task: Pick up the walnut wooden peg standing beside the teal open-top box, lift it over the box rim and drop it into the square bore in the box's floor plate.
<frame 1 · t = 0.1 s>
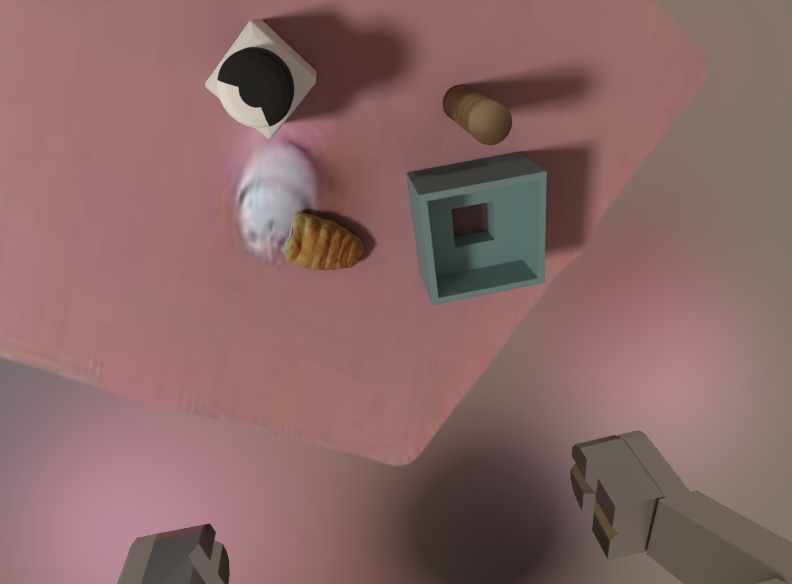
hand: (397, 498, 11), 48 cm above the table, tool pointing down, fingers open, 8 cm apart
peg: (458, 102, 53), on the table
pastry: (320, 237, 59), on the table
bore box: (467, 215, 60), on the table
medicine bottle: (268, 74, 49), on the table
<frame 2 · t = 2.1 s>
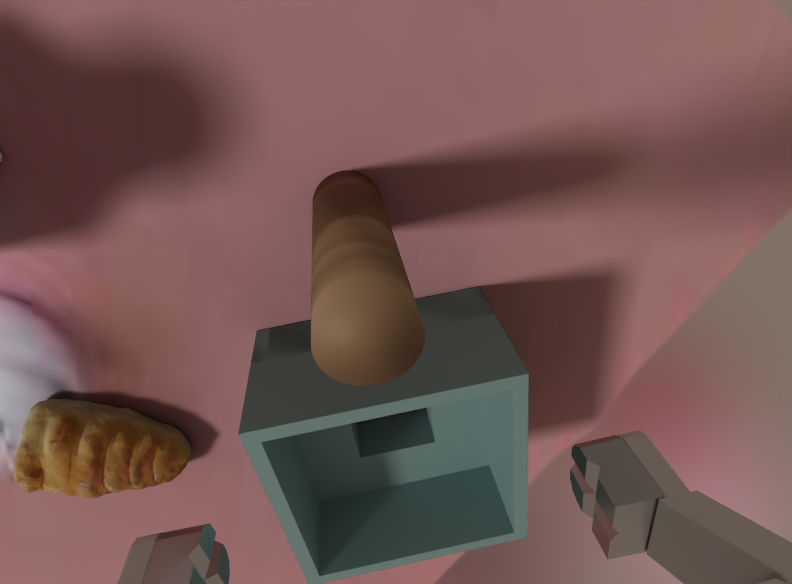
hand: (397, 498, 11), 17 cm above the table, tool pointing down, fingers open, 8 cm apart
peg: (347, 204, 25), on the table
pastry: (107, 429, 31), on the table
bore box: (386, 390, 32), on the table
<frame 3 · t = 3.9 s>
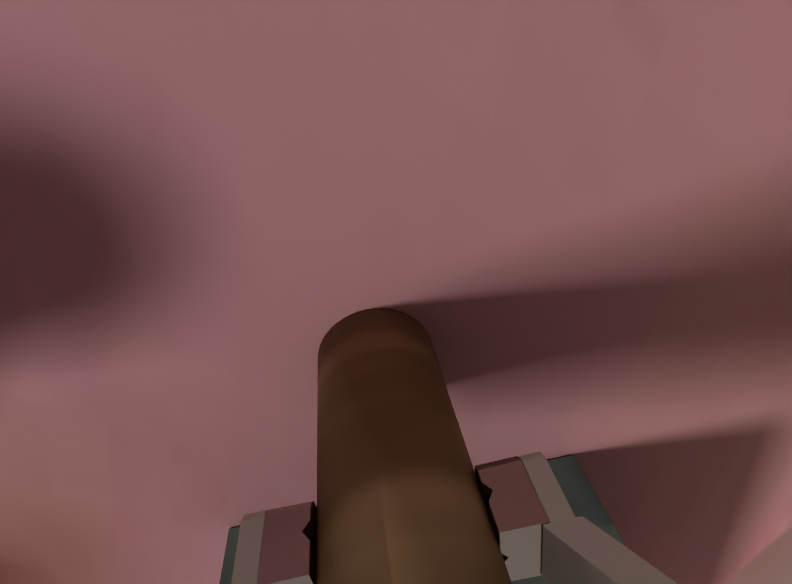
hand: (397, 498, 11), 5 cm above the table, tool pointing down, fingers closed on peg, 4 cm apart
peg: (375, 357, 15), on the table, touching gripper
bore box: (423, 583, 22), on the table
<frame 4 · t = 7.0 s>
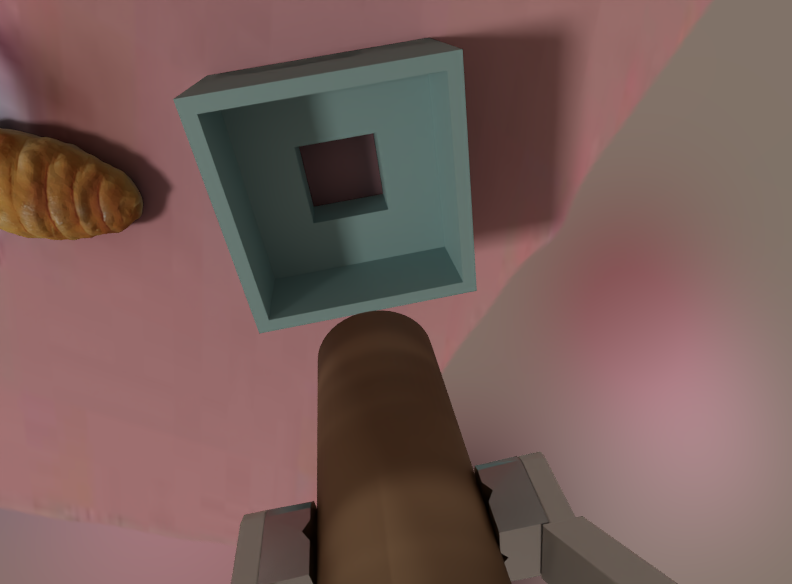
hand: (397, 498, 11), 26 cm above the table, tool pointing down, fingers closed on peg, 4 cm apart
peg: (375, 358, 15), point 21 cm above the table, touching gripper
pastry: (56, 178, 31), on the table
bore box: (341, 165, 33), on the table
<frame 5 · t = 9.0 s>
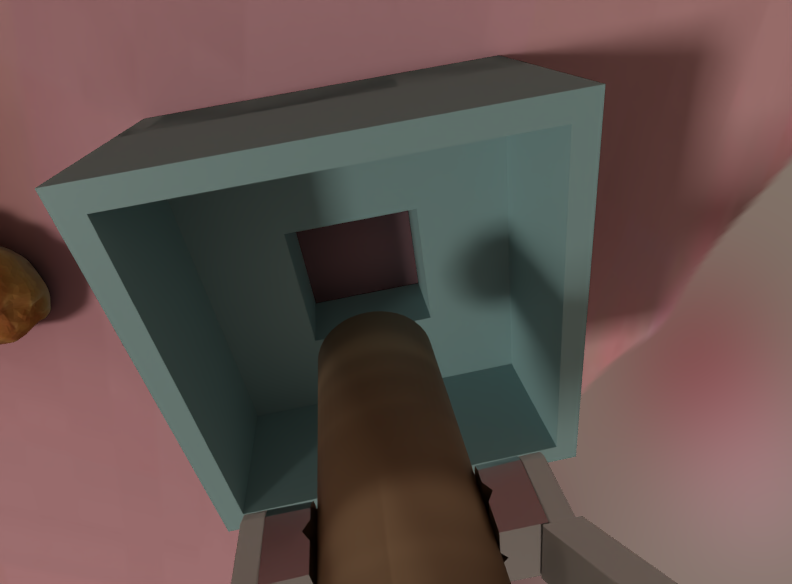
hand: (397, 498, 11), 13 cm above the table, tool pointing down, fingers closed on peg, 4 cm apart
peg: (375, 359, 15), point 8 cm above the table, touching gripper
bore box: (357, 246, 22), on the table
when the fingers open (8 cm above the table, at t = 10.4 s): peg drops 2 cm, resting in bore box.
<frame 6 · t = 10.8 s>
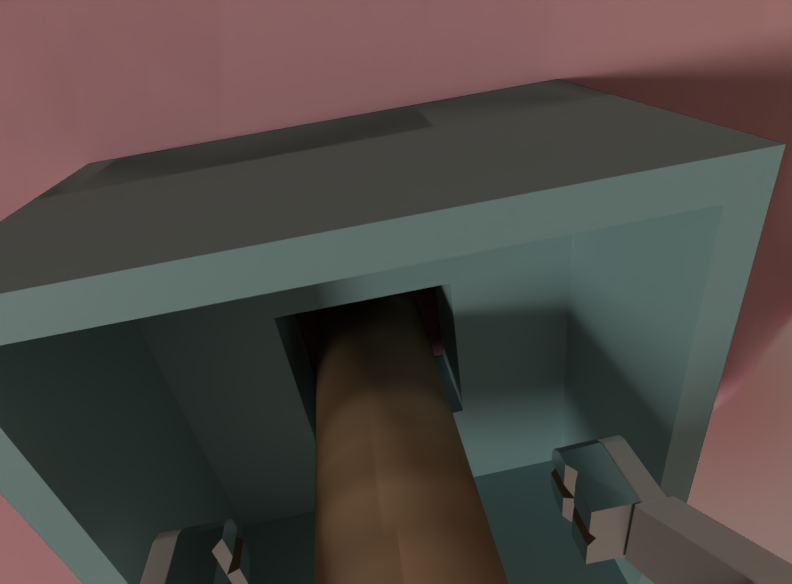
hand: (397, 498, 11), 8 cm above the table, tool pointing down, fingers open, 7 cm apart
peg: (367, 315, 17), resting in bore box
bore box: (368, 315, 17), on the table
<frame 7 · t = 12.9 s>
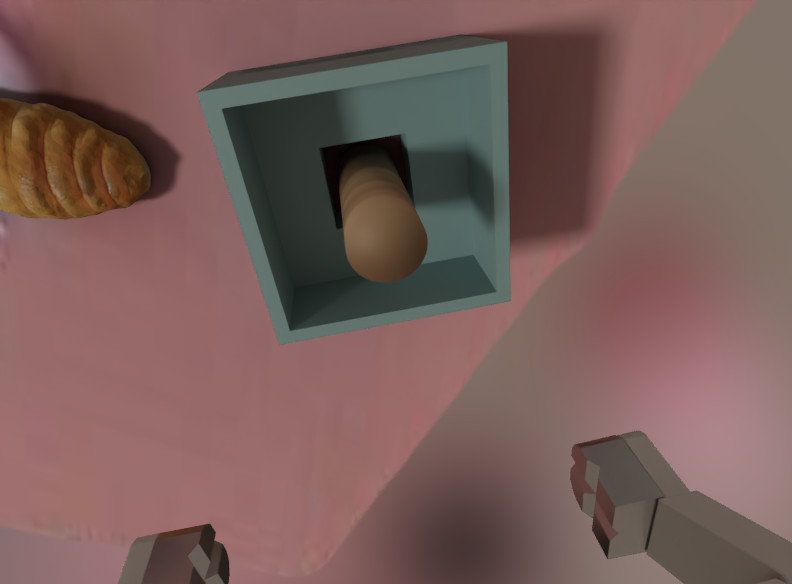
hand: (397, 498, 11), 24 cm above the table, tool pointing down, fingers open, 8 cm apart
peg: (365, 169, 31), resting in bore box
pastry: (57, 152, 29), on the table
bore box: (365, 169, 31), on the table
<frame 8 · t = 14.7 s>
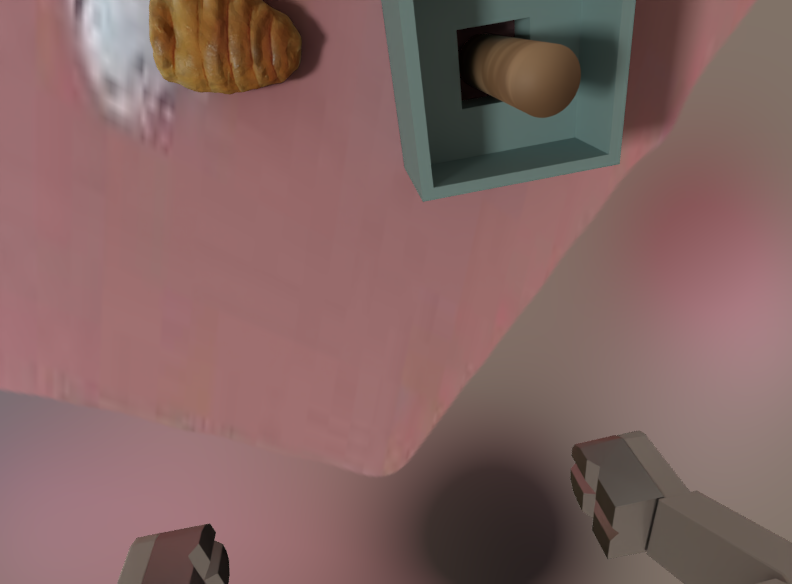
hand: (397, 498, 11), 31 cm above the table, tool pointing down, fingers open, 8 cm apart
peg: (481, 61, 35), resting in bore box
pastry: (221, 35, 33), on the table
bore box: (482, 60, 35), on the table
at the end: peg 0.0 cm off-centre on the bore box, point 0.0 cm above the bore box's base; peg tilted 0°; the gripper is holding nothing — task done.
